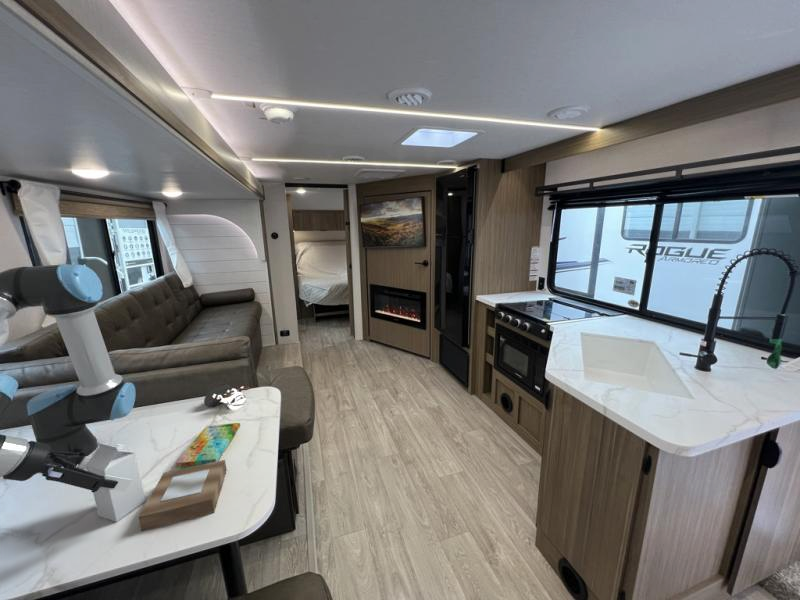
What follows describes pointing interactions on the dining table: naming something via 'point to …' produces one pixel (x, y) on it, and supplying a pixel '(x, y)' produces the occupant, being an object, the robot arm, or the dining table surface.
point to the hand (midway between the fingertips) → (117, 475)
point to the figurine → (226, 397)
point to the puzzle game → (208, 445)
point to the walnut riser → (184, 495)
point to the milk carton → (117, 465)
